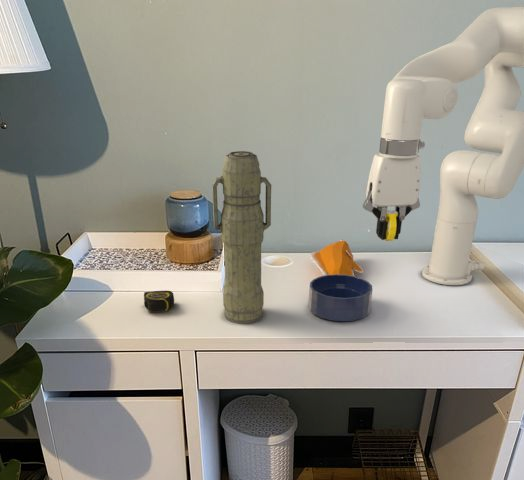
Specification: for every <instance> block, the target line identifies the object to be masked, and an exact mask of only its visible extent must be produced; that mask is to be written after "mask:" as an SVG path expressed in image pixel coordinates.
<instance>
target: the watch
mask: <svg viewBox="0 0 524 480" xmlns="http://www.w3.org/2000/svg"><path fill="white" fill-rule="evenodd" d="M397 216H398V212H397V211H395V210H392V209H387V214H386V221H387V222H388V225H387V233H386V239H385V240H384V241H386V242H392V241H393V240H395V239H394V237H395V234H396V217H397Z"/></svg>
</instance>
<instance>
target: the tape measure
mask: <svg viewBox="0 0 524 480" xmlns="http://www.w3.org/2000/svg"><path fill="white" fill-rule="evenodd" d="M143 304H144V305H143V306H144V307H145V309H146V310H147V311H149V312H151V313H152V312H153V313H163V312H168V311H170V310H172V309H173V308H174V307H175V296H174V292H173V291H171V290H153V291H144V292H143Z"/></svg>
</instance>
